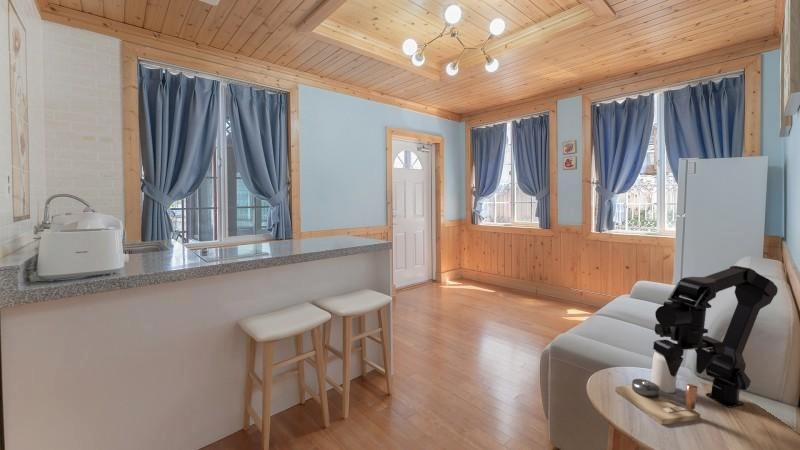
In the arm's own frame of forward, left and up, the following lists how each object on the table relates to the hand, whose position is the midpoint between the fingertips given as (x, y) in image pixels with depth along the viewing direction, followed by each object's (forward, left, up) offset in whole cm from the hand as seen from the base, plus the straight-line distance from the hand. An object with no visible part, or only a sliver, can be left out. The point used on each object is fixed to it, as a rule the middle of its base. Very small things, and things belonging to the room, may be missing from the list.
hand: (685, 374), depth 103 cm
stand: (+6, -3, -11) cm, 13 cm away
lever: (+4, -3, -9) cm, 10 cm away
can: (-4, -10, -11) cm, 16 cm away
